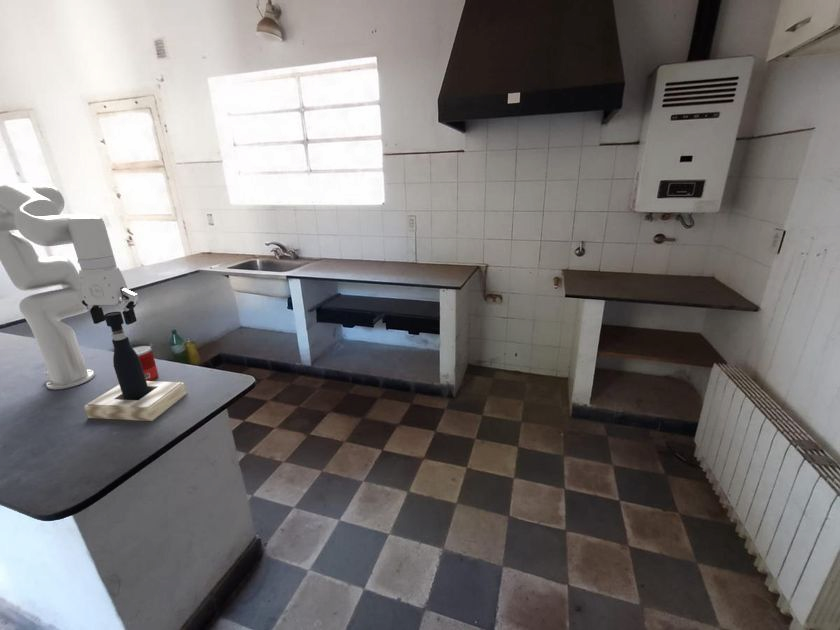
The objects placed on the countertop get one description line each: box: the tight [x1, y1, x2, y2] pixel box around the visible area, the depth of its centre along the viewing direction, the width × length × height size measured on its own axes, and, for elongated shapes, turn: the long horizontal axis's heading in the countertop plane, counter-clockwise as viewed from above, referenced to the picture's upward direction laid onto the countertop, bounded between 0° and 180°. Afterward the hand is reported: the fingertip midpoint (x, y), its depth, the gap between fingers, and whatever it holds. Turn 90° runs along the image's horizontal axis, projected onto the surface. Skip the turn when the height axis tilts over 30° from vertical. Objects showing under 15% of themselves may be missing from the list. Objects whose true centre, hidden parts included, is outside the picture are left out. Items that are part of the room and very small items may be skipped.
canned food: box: [132, 345, 159, 381], centre depth 132 cm, size 8×8×11 cm
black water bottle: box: [104, 311, 149, 400], centre depth 113 cm, size 6×6×30 cm
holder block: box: [84, 380, 188, 422], centre depth 117 cm, size 20×15×4 cm
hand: (115, 322), depth 109 cm, fingers open, 9 cm apart
